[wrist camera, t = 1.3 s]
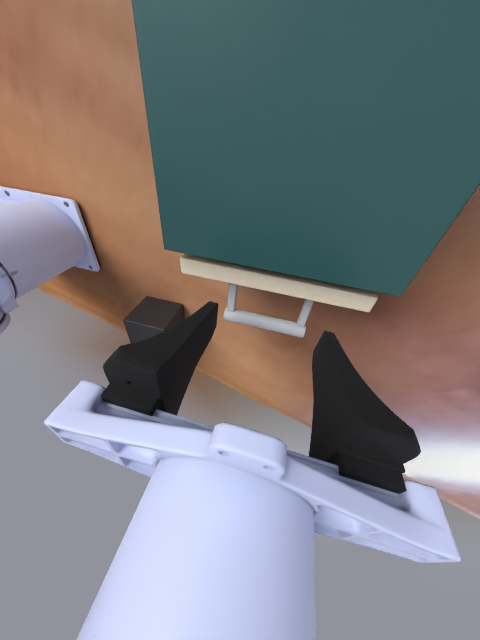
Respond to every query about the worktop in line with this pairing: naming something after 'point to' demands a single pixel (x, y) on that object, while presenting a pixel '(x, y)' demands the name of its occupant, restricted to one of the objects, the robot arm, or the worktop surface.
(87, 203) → the worktop surface
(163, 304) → the block
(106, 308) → the worktop surface
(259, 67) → the cabinet
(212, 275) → the drawer
